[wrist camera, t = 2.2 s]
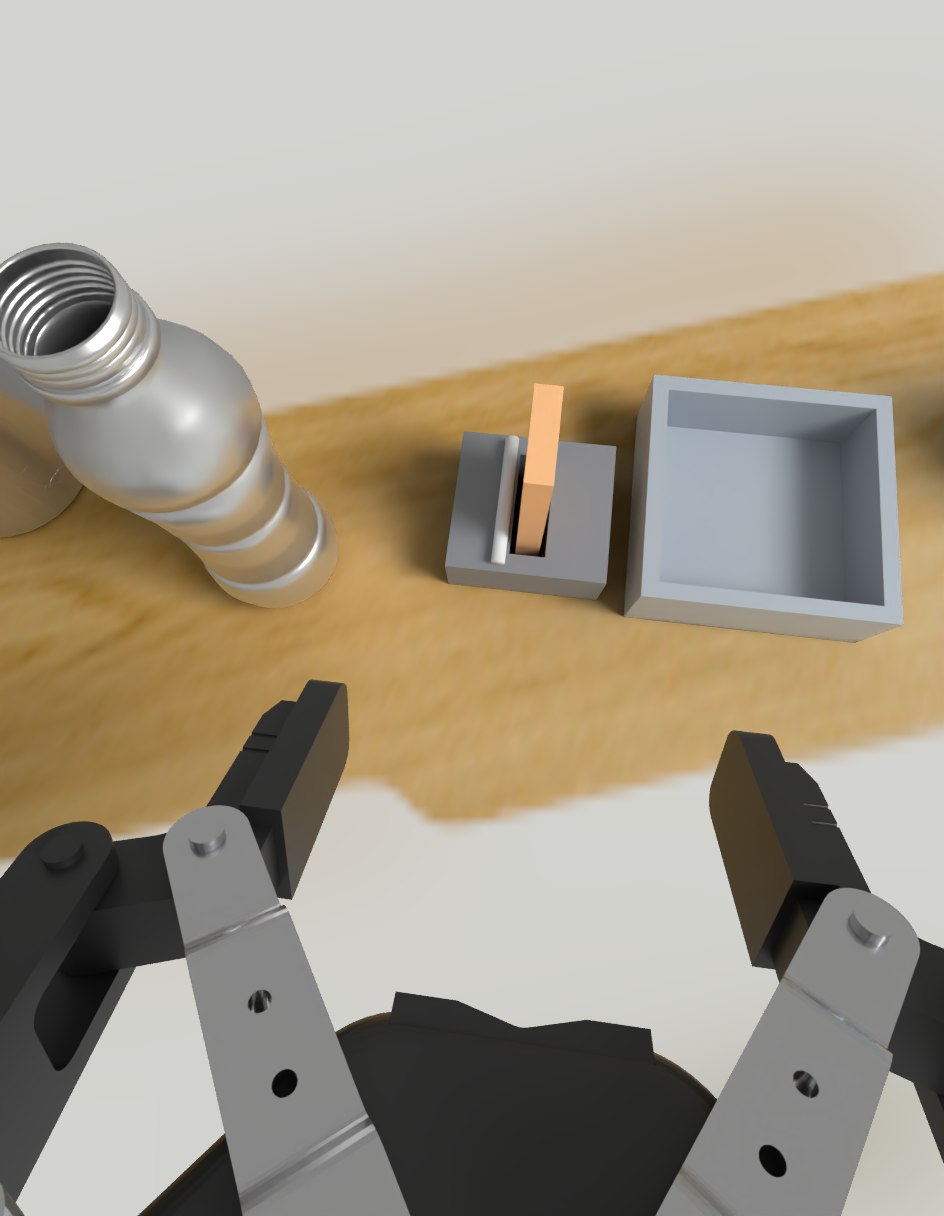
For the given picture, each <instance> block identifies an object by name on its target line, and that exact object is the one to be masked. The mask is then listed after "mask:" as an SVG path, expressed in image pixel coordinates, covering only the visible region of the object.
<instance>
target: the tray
mask: <svg viewBox="0 0 944 1216" xmlns="http://www.w3.org/2000/svg"><path fill="white" fill-rule="evenodd" d="M624 617H631V618H640V619H649V620H658V621H667V622H676V623H685V624H694V625H703V626H712V627H721V628H730V629H739V630H747V631H756V632H765V633H774V634H783V635H792V636H801V637H810V638H819V639H828V640H837V641H846V642H858V641H861V640H864V639H866V638H869V637H872V636H874V635H877V634H880V633H882V632H885V631H888V630H890V629H893V628H896V627H899V626H901V625H903V611H902V591H901V570H900V550H899V529H898V508H897V488H896V467H895V447H894V426H893V406H892V396H882V395H871V394H860V393H849V392H838V391H827V390H816V389H805V388H794V387H783V386H772V385H761V384H750V383H739V382H728V381H717V380H707V379H696V378H685V377H674V376H663V375H654V376H653V378H652V381H651V383H650V386H649V388H648V390H647V393H646V395H645V398H644V400H643V403H642V405H641V408H640V410H639V412H638V415H637V420H636V435H635V451H634V466H633V482H632V497H631V512H630V528H629V543H628V559H627V574H626V589H625V605H624Z"/></svg>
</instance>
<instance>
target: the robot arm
mask: <svg viewBox="0 0 944 1216" xmlns="http://www.w3.org/2000/svg"><path fill="white" fill-rule="evenodd" d="M82 487H83V484H82V483H80V482H79V481H78V480H77V479H76V478H75V477H74V476H73V474H72V473H71V472H70V471H69V469H68V468H67V467H66V465H65V464H64V462H63V460H62V459H61V457H60V455H59V454H58V452H57V450H56V449H55V446H54V444H53V442H52V440H51V437H50V435H49V431H48V426H47V420H46V413H45V405H44V397H42V396H41V395H40V394H38V393H37V392H36V391H34V390H33V389H32V388H31V387H30V386H28V385H27V384H26V383H25V382H24V381H23V380H22V379H21V378H20V377H19V375H18V374H17V373H16V372H15V369H14V368H13V367H12V366H11V365H10V364H8V363H7V362H6V361H5V360H4V359H2V358H1V357H0V538H1V537H13V536H16V535H20V534H24V533H27V532H30V531H32V530H34V529H36V528H39V527H41V526H43V525H45V524H47V523H48V522H49V521H51V520H52V519H54V518H55V517H56V516H58V515H59V514H61V513H62V511H63V510H64V509H65V508H66V507H67V506H68V505H69V504H70V503H71V502H72V501H73V500H74V499H75V497H76V496H77V494H78V493H79V491H80V490H81V488H82ZM348 749H349V721H348V698H347V687H346V685H345V684H344V683H337V682H328V681H320V680H309V681H308V683H307V684H306V686H305V688H304V689H303V691H302V693H301V695H300V697H299V698H298V700H297V702H293V701H284V700H282V701H280V702H279V703H278V704H276V705H275V706H274V707H272V708H271V709H270V710H268V711H267V712H266V713H264V714H263V715H262V717H261V718H260V720H259V722H258V723H257V725H256V727H255V728H254V730H253V732H252V735H251V736H249V738H248V740H247V741H246V743H245V745H244V746H243V750H242V751H240V753H239V754H238V756H237V758H236V759H235V761H234V762H233V764H232V766H231V767H230V769H229V771H228V772H227V774H226V775H225V777H224V779H223V780H222V782H221V784H220V785H219V787H218V789H217V790H216V792H215V793H214V795H213V797H212V798H211V800H210V802H209V803H208V805H207V806H206V807H203V808H200V809H197V810H195V811H192V812H190V813H188V814H187V815H185V816H183V817H182V818H181V819H179V820H178V821H177V822H176V823H175V824H174V825H173V826H172V827H171V828H170V829H169V831H168V833H165V834H161V835H156V836H150V837H142V838H135V839H128V840H121V841H112V837H111V835H110V833H109V831H108V830H107V829H106V828H105V827H103V826H102V825H100V824H97V823H94V822H72V823H68V824H64V825H61V826H58V827H55V828H53V829H51V830H49V831H47V832H45V833H43V834H42V835H40V836H39V837H37V838H36V839H34V840H33V841H32V842H31V843H30V844H28V845H27V846H26V847H25V849H24V850H23V851H22V852H21V853H20V854H19V856H18V857H17V858H16V859H15V861H14V862H13V863H12V864H11V866H10V867H9V868H8V870H7V871H6V872H5V873H4V875H3V876H2V877H1V878H0V1216H24V1214H23V1212H22V1211H21V1210H20V1208H19V1207H18V1206H17V1204H16V1201H17V1199H18V1197H19V1195H20V1193H21V1191H22V1189H23V1187H24V1185H25V1183H26V1181H27V1179H28V1177H29V1175H30V1173H31V1171H32V1169H33V1167H34V1165H35V1164H36V1162H37V1159H38V1158H39V1156H40V1154H41V1152H42V1150H43V1148H44V1146H45V1144H46V1142H47V1140H48V1138H49V1136H50V1134H51V1132H52V1130H53V1128H54V1126H55V1124H56V1122H57V1120H58V1118H59V1117H60V1115H61V1113H62V1111H63V1108H64V1106H65V1105H66V1103H67V1101H68V1099H69V1097H70V1095H71V1093H72V1091H73V1089H74V1087H75V1085H76V1083H77V1081H78V1079H79V1077H80V1075H81V1073H82V1072H83V1070H84V1068H85V1066H86V1064H87V1062H88V1060H89V1057H90V1055H91V1054H92V1052H93V1050H94V1048H95V1046H96V1044H97V1042H98V1040H99V1038H100V1036H101V1034H102V1032H103V1030H104V1028H105V1026H106V1025H107V1023H108V1021H109V1019H110V1017H111V1015H112V1013H113V1011H114V1009H115V1007H116V1005H117V1003H118V1001H119V999H120V997H121V995H122V993H123V991H124V989H125V987H126V985H127V983H128V981H129V979H130V977H131V976H132V974H133V972H134V970H135V968H136V966H142V965H147V964H153V963H158V962H164V961H169V960H175V959H180V958H186V960H187V965H188V970H189V974H190V979H191V983H192V988H193V992H194V996H195V1000H196V1006H197V1010H198V1015H199V1019H200V1023H201V1028H202V1032H203V1037H204V1041H205V1046H206V1050H207V1055H208V1059H209V1064H210V1068H211V1073H212V1077H213V1082H214V1086H215V1091H216V1095H217V1100H218V1104H219V1108H220V1113H221V1117H222V1122H223V1126H224V1130H225V1134H224V1135H222V1136H221V1137H220V1138H219V1139H218V1140H217V1141H216V1142H215V1143H214V1144H213V1145H212V1146H211V1147H210V1148H209V1149H208V1150H207V1151H206V1152H205V1153H203V1155H201V1156H200V1157H199V1158H198V1159H197V1160H196V1161H195V1162H194V1163H193V1164H192V1165H191V1166H190V1167H189V1168H188V1169H187V1170H186V1171H184V1172H183V1174H181V1175H180V1176H179V1177H178V1178H177V1179H176V1180H175V1181H174V1182H173V1183H172V1184H171V1185H170V1186H169V1187H168V1188H167V1189H166V1190H165V1191H163V1192H162V1193H161V1194H160V1195H159V1196H158V1197H157V1198H156V1199H155V1200H154V1201H153V1202H152V1203H151V1204H150V1205H149V1206H148V1207H147V1208H145V1210H143V1211H142V1212H141V1213H140V1214H139V1215H138V1216H841V1214H842V1210H843V1208H844V1204H845V1202H846V1199H847V1195H848V1193H849V1189H850V1187H851V1184H852V1181H853V1178H854V1175H855V1171H856V1168H857V1166H858V1162H859V1160H860V1156H861V1153H862V1151H863V1147H864V1145H865V1142H866V1139H867V1136H868V1133H869V1129H870V1127H871V1124H872V1121H873V1118H874V1115H875V1111H876V1108H877V1106H878V1102H879V1100H880V1096H881V1094H882V1091H883V1088H884V1085H885V1082H886V1079H887V1076H888V1073H889V1071H890V1072H892V1073H894V1074H896V1075H899V1076H901V1077H903V1078H905V1079H907V1080H910V1081H911V1082H913V1083H914V1086H915V1088H916V1091H917V1094H918V1096H919V1099H920V1102H921V1104H922V1107H923V1110H924V1112H925V1115H926V1118H927V1120H928V1123H929V1126H930V1128H931V1131H932V1134H933V1136H934V1139H935V1142H936V1144H937V1147H938V1150H939V1152H940V1155H941V1158H942V1160H943V1163H944V949H943V948H941V947H938V946H936V945H933V944H930V943H928V942H926V941H924V940H922V939H920V938H918V937H917V935H916V933H915V931H914V929H913V928H912V926H911V925H910V923H909V922H908V921H907V920H906V918H905V917H904V916H903V915H902V914H901V913H900V912H899V911H898V910H897V909H895V908H894V907H893V906H891V905H890V904H889V903H887V902H886V901H884V900H883V899H881V898H879V897H877V896H875V895H873V894H871V892H870V890H869V888H868V886H867V884H866V882H865V879H864V878H863V875H862V873H861V871H860V869H859V867H858V865H857V863H856V861H855V859H854V857H853V855H852V853H851V851H850V849H849V847H848V845H847V843H846V841H845V839H844V837H843V835H842V832H841V830H840V828H837V822H836V820H835V818H834V816H833V814H832V812H831V810H829V809H828V804H827V802H826V800H825V798H824V796H823V794H822V792H821V790H820V788H819V786H818V784H817V783H816V782H815V781H814V780H813V778H812V777H811V776H810V775H809V774H808V773H806V771H805V770H804V769H803V768H802V767H801V766H800V765H799V764H798V763H790V762H785V761H784V758H783V756H782V754H781V752H780V749H779V747H778V745H777V743H776V741H775V739H774V737H773V736H772V735H768V734H760V733H752V732H743V731H735V730H733V731H731V732H730V733H729V735H728V737H727V740H726V743H725V745H724V748H723V751H722V754H721V757H720V760H719V763H718V766H717V769H716V772H715V775H714V778H713V781H712V784H711V788H710V796H709V807H710V814H711V819H712V822H713V826H714V830H715V833H716V837H717V840H718V844H719V848H720V851H721V855H722V858H723V862H724V866H725V869H726V873H727V876H728V880H729V884H730V888H731V891H732V895H733V898H734V902H735V906H736V909H737V913H738V917H739V920H740V924H741V927H742V931H743V935H744V938H745V942H746V945H747V949H748V953H749V956H750V960H751V964H752V966H755V967H761V968H768V969H775V970H776V973H777V977H778V980H779V985H778V987H777V989H776V991H775V993H774V995H773V996H772V998H771V1000H770V1002H769V1004H768V1006H767V1008H766V1010H765V1011H764V1013H763V1015H762V1017H761V1019H760V1021H759V1023H758V1025H757V1026H756V1028H755V1030H754V1032H753V1034H752V1036H751V1038H750V1040H749V1042H748V1043H747V1045H746V1047H745V1049H744V1051H743V1053H742V1055H741V1057H740V1058H739V1060H738V1062H737V1064H736V1066H735V1068H734V1070H733V1072H732V1073H731V1075H730V1077H729V1079H728V1081H727V1083H726V1085H725V1087H724V1088H723V1090H722V1092H721V1094H720V1096H719V1098H718V1100H717V1099H716V1098H715V1097H714V1096H713V1095H712V1094H711V1093H710V1092H709V1090H708V1089H707V1088H705V1087H704V1086H703V1085H702V1084H701V1083H700V1082H699V1081H698V1080H697V1079H695V1078H694V1077H693V1076H692V1075H691V1074H689V1073H688V1072H686V1071H685V1070H684V1069H682V1068H681V1067H680V1066H678V1065H676V1064H675V1063H673V1062H671V1061H670V1060H668V1059H666V1058H665V1057H663V1056H661V1055H658V1054H656V1053H654V1052H653V1044H652V1036H651V1029H645V1028H638V1027H631V1026H624V1025H618V1024H611V1023H605V1022H597V1021H591V1020H582V1021H575V1022H568V1023H559V1024H552V1025H545V1026H537V1027H529V1028H520V1027H517V1026H514V1025H511V1024H509V1023H507V1022H504V1021H502V1020H500V1019H498V1018H496V1017H493V1016H491V1015H489V1014H486V1013H484V1012H482V1011H479V1010H477V1009H475V1008H473V1007H470V1006H468V1005H466V1004H464V1003H461V1002H459V1001H456V1000H449V999H442V998H435V997H429V996H422V995H415V994H409V993H401V992H396V993H395V998H394V1003H393V1008H392V1012H387V1013H380V1014H376V1015H373V1016H369V1017H366V1018H363V1019H360V1020H358V1021H356V1022H353V1023H351V1024H349V1025H347V1026H345V1027H344V1028H342V1029H340V1030H338V1031H337V1032H335V1031H334V1028H333V1025H332V1023H331V1020H330V1018H329V1015H328V1012H327V1010H326V1007H325V1005H324V1002H323V999H322V997H321V994H320V992H319V989H318V987H317V984H316V981H315V979H314V976H313V973H312V971H311V968H310V966H309V963H308V960H307V958H306V955H305V953H304V950H303V947H302V945H301V942H300V939H299V937H298V934H297V932H296V929H295V926H294V924H293V921H292V919H291V916H290V914H289V912H288V910H287V908H286V906H285V905H283V906H281V905H280V903H279V900H278V898H284V899H291V900H292V898H293V896H294V893H295V891H296V888H297V886H298V883H299V881H300V878H301V876H302V873H303V871H304V868H305V866H306V863H307V861H308V858H309V856H310V853H311V850H312V848H313V845H314V843H315V840H316V838H317V835H318V833H319V830H320V828H321V825H322V823H323V820H324V818H325V815H326V812H327V810H328V808H329V805H330V802H331V800H332V798H333V795H334V793H335V790H336V787H337V785H338V782H339V780H340V777H341V775H342V772H343V770H344V767H345V764H346V760H347V755H348Z"/></svg>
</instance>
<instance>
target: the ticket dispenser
mask: <svg viewBox="0 0 944 1216" xmlns="http://www.w3.org/2000/svg"><path fill="white" fill-rule="evenodd" d="M527 445H528V438H525V437H517V436H514V435H509V436H505V435H495V434H484V433H474V432H464V434H463V441H462V448H461V455H460V462H459V469H458V476H457V483H456V491H455V498H454V505H453V512H452V519H451V526H450V533H449V540H448V547H447V555H446V562H445V569H446V574H447V579H448V584H457V585H466V586H475V587H484V588H493V589H502V590H511V591H520V592H529V593H538V594H547V595H556V596H565V597H574V598H583V599H592V600H597V598H598V597H599V595H600V593H601V592H602V590H603V588H604V587H605V585H606V582H607V569H608V555H609V541H610V528H611V514H612V500H613V487H614V473H615V459H616V446H607V445H597V444H587V443H577V442H566V441H558V450H557V460H556V470H555V481H554V488H553V493H552V497H551V501H550V506H549V510H548V515H547V519H546V526H545V536H544V546H543V556H542V557H535V556H526V555H517V554H510V545H511V536H512V528H513V519H514V510H515V502H516V493H517V484H518V480H520V481H523V479H524V470H525V462H526V453H527Z"/></svg>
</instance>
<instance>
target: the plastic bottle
mask: <svg viewBox="0 0 944 1216" xmlns="http://www.w3.org/2000/svg"><path fill="white" fill-rule="evenodd" d="M0 357H1V358H2V359H4V360H5V361H6V362H7V363H8V364H10V365H11V366H12V367H13V368H14V369H15V372H16V373H17V374H18V375H19V377H20V378H21V379H22V380H23V381H24V382H25V383H26V384H27V385H28V386H30V387H31V388H32V389H33V390H34V391H36V392H37V393H38V394H40V395H41V396H42V397H44V405H45V413H46V420H47V426H48V431H49V435H50V437H51V440H52V442H53V444H54V446H55V449H56V450H57V452H58V454H59V455H60V457H61V459H62V460H63V462H64V464H65V465H66V467H67V468H68V469H69V471H70V472H71V473H72V474H73V476H74V477H75V478H76V479H77V480H78V481H79V482H80V483H82V484H83V485H84V486H85V487H87V488H88V489H89V490H91V491H92V492H94V493H96V494H98V495H99V496H101V497H102V498H104V499H106V500H107V501H109V502H111V503H113V504H116V505H118V506H120V507H122V508H124V509H126V510H128V511H131V512H133V513H135V514H137V515H139V516H141V517H143V518H145V519H147V520H149V521H151V522H154V523H156V524H157V525H159V526H160V527H162V528H163V529H165V530H166V531H168V532H169V533H171V534H172V535H174V536H176V537H177V538H179V539H180V540H181V541H183V542H184V543H186V544H187V545H188V546H189V547H190V548H191V549H192V551H193V552H194V553H195V554H196V555H197V556H198V557H199V558H200V559H201V560H202V562H203V564H204V566H205V568H206V570H207V571H208V572H209V573H210V575H211V576H212V577H213V578H214V580H215V581H216V582H217V583H218V585H219V586H220V587H221V588H222V589H223V590H224V591H226V592H227V593H228V594H229V595H231V596H232V597H234V598H236V599H238V600H240V601H243V602H246V603H250V604H253V605H257V606H260V607H264V608H283V607H289V606H293V605H296V604H299V603H301V602H303V601H305V600H307V599H309V598H311V597H312V596H313V595H315V594H316V593H317V592H319V591H320V590H321V589H322V587H323V586H324V585H325V584H326V583H327V582H328V580H329V578H330V577H331V575H332V574H333V571H334V569H335V566H336V563H337V557H338V541H337V534H336V530H335V526H334V523H333V520H332V518H331V517H330V515H329V513H328V511H327V510H326V509H325V508H324V507H323V506H322V504H321V503H320V502H319V501H318V500H317V499H316V498H315V497H314V496H313V495H312V494H311V493H309V492H308V491H307V490H305V489H304V488H302V487H301V486H300V485H299V484H298V483H297V482H296V481H295V479H294V478H293V477H292V476H291V475H290V474H289V472H288V471H287V470H286V469H285V467H284V465H283V463H282V461H281V459H280V457H279V455H278V453H277V451H276V449H275V447H274V445H273V443H272V441H271V438H270V435H269V432H268V429H267V426H266V423H265V420H264V417H263V414H262V411H261V408H260V405H259V402H258V399H257V395H256V393H255V391H254V389H253V387H252V385H251V383H250V381H249V379H248V377H247V375H246V373H245V372H244V370H243V368H242V366H241V365H240V364H239V363H238V362H237V361H236V360H235V359H234V358H233V356H232V355H231V354H229V353H228V352H227V351H225V350H224V349H223V348H221V347H220V346H219V345H218V344H216V343H215V342H214V341H212V340H211V339H209V338H208V337H207V336H205V335H204V334H202V333H200V332H198V331H196V330H193V329H191V328H189V327H186V326H183V325H180V324H176V323H173V322H169V321H166V320H162V319H157V318H156V317H155V314H154V313H153V311H152V310H151V308H150V307H149V306H148V304H147V303H146V302H145V301H144V300H143V298H142V297H141V296H140V295H139V294H138V293H137V292H135V291H134V290H133V289H131V288H130V287H129V286H128V284H127V283H126V281H125V280H124V279H123V277H122V276H121V275H120V273H119V272H118V271H117V270H116V268H114V266H113V265H112V264H111V263H110V262H109V261H107V260H106V258H105V257H103V256H102V255H100V254H99V253H97V252H96V251H94V250H91V249H89V248H87V247H85V246H81V245H76V244H72V243H52V244H43V245H39V246H35V247H32V248H29V249H27V250H24V251H22V252H19V253H17V254H16V255H14V256H12V257H10V258H9V259H7V260H6V261H4V262H3V263H2V264H1V265H0Z"/></svg>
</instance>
